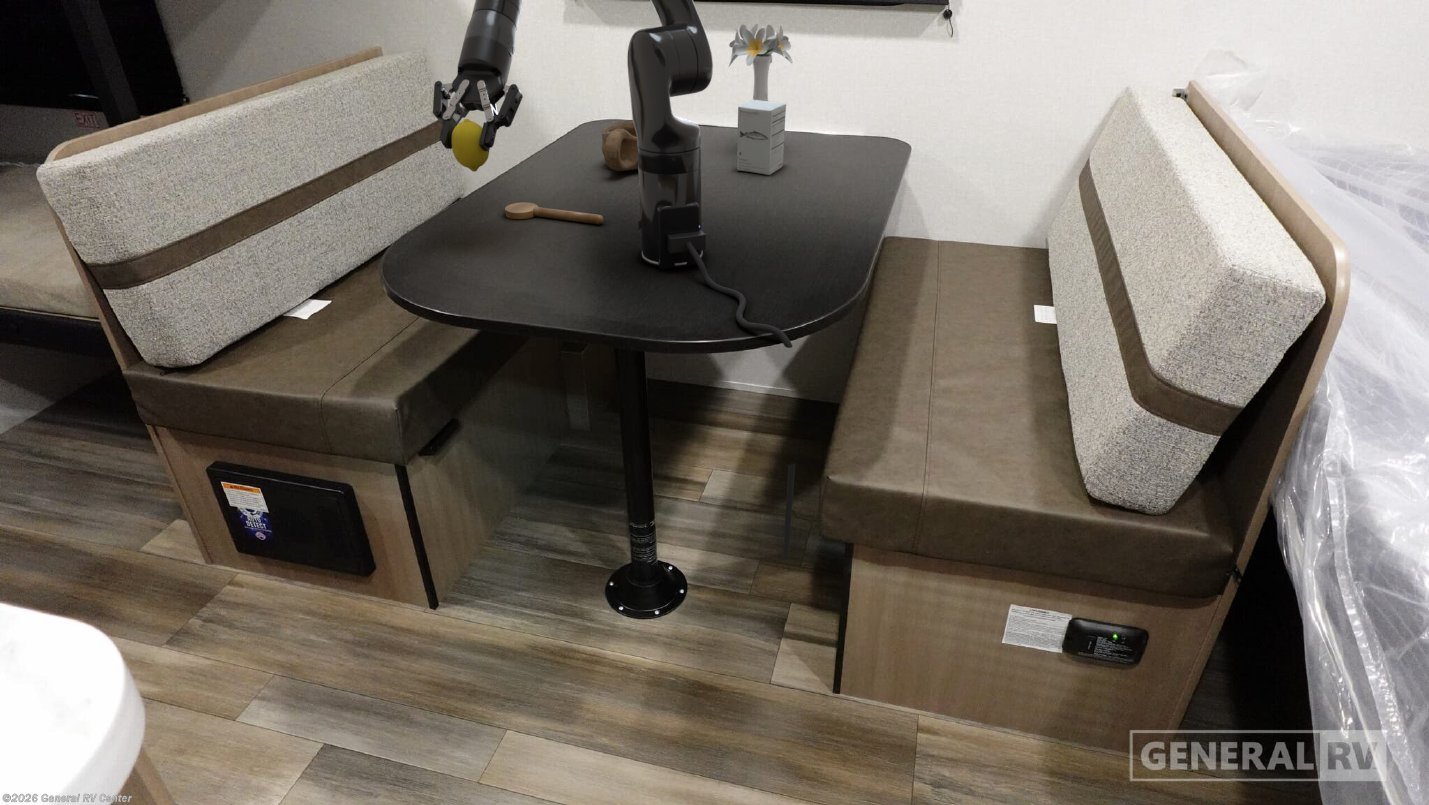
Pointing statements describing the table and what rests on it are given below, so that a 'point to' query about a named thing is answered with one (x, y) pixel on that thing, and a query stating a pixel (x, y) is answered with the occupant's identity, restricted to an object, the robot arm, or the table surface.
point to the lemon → (468, 145)
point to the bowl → (620, 146)
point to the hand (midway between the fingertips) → (465, 146)
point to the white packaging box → (760, 136)
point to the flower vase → (760, 53)
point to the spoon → (549, 213)
